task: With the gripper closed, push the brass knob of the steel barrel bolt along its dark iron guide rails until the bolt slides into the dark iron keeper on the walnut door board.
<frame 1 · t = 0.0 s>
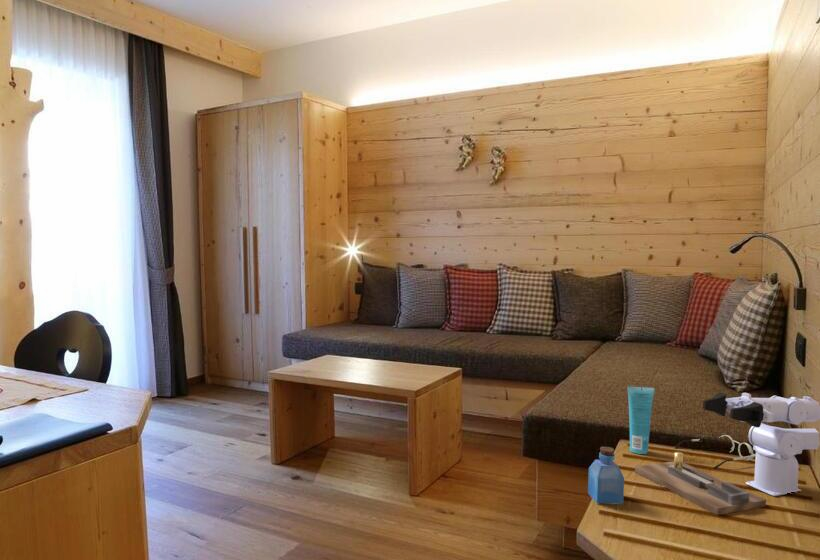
hand: (717, 409, 137), 22 cm above the table, tool horizontal, fingers open, 7 cm apart
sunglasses: (714, 458, 168), on the table
tube: (638, 452, 170), on the table
perfume bottle: (605, 499, 138), on the table
door board: (696, 487, 145), on the table
bolt: (690, 468, 146), point 4 cm above the table, slide at 0.0 cm
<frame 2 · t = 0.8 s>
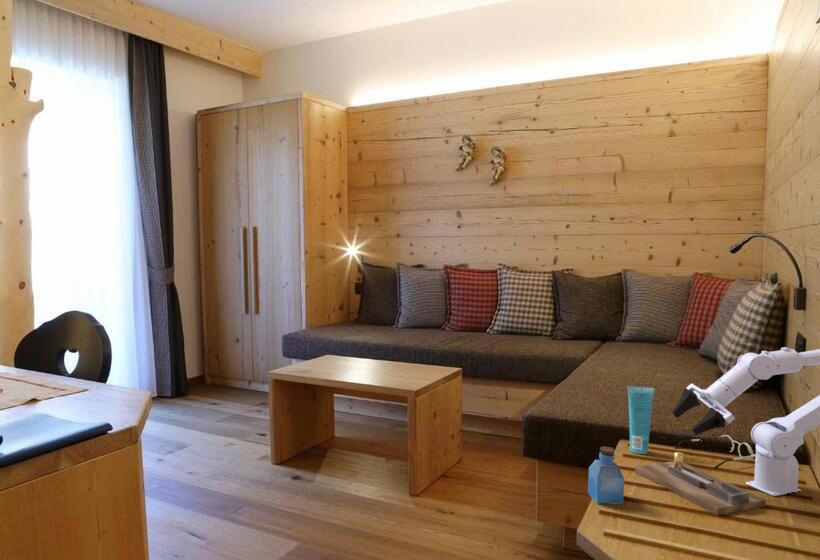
hand: (683, 423, 145), 16 cm above the table, tool tilted 50°, fingers open, 7 cm apart
nothing on the table moved.
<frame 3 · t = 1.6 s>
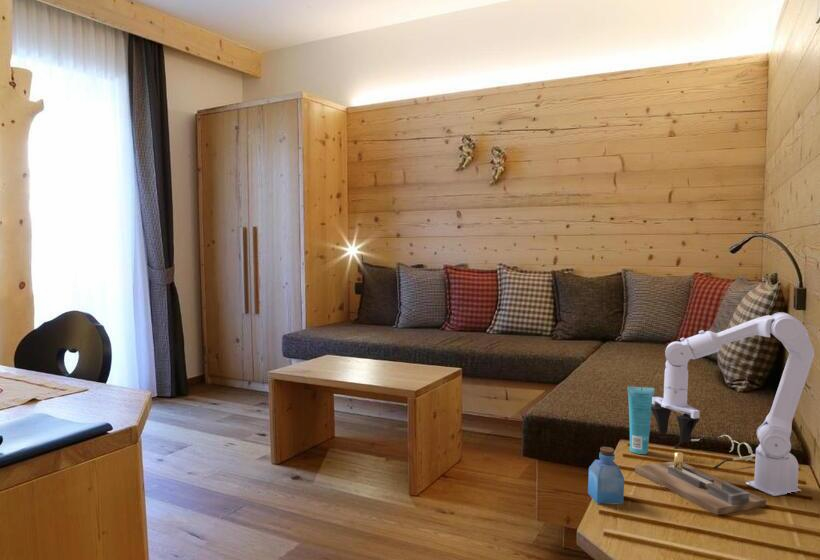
hand: (673, 437, 154), 9 cm above the table, tool pointing down, fingers open, 7 cm apart
nothing on the table moved.
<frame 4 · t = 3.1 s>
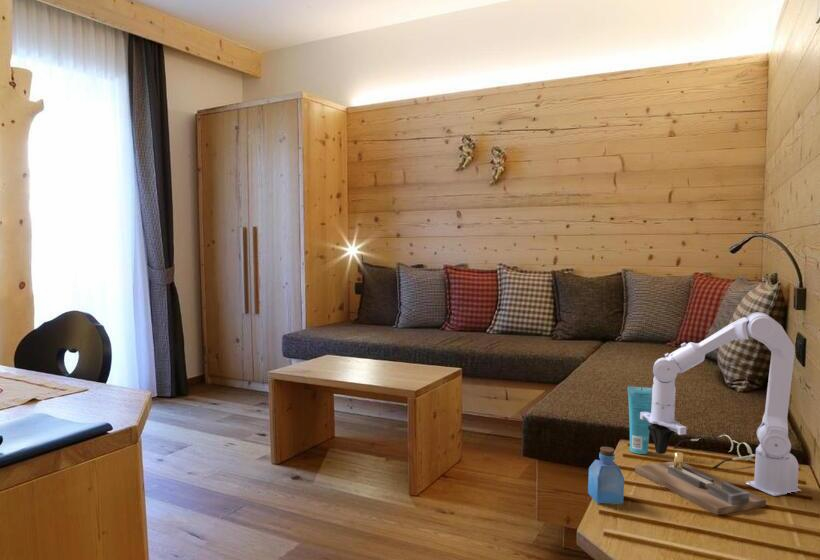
hand: (660, 452, 156), 5 cm above the table, tool pointing down, fingers closed
nothing on the table moved.
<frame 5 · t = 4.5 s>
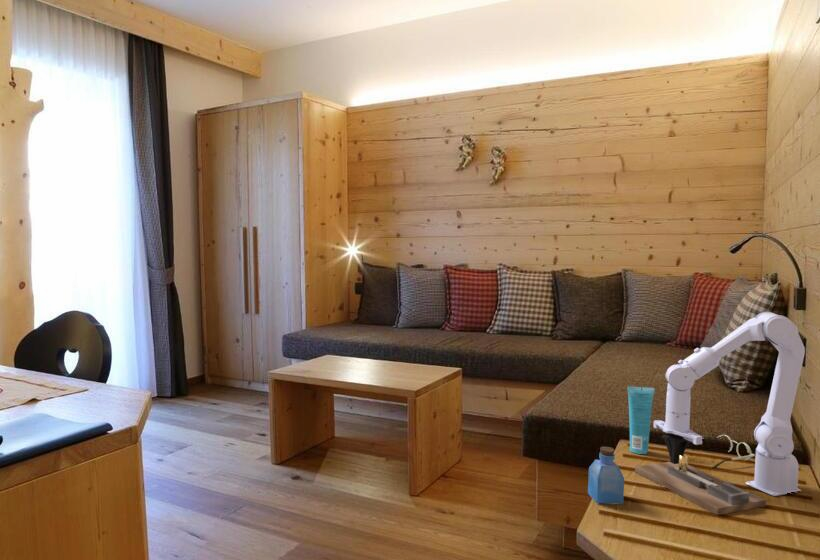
hand: (675, 462, 151), 4 cm above the table, tool pointing down, fingers closed
bolt: (695, 470, 145), point 4 cm above the table, slide at 1.6 cm, touching gripper
everything else where it was.
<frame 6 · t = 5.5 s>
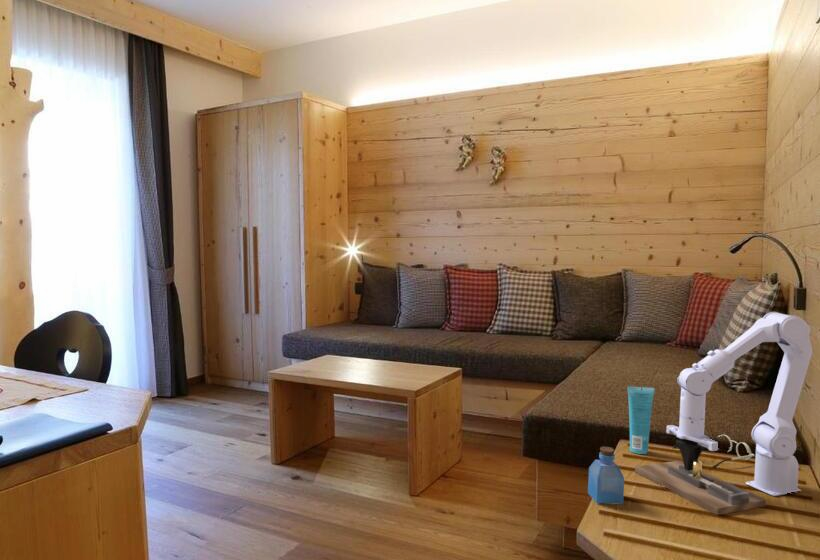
hand: (689, 469, 147), 4 cm above the table, tool pointing down, fingers closed
bolt: (710, 477, 141), point 4 cm above the table, slide at 6.1 cm, touching gripper
everything else where it was.
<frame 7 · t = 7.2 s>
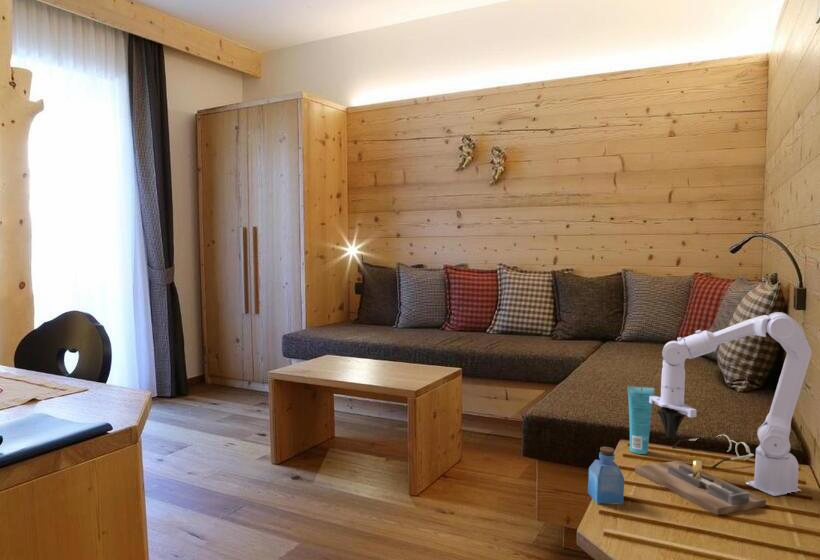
hand: (670, 436, 155), 9 cm above the table, tool pointing down, fingers closed
bolt: (710, 477, 141), point 4 cm above the table, slide at 6.0 cm
everything else where it was.
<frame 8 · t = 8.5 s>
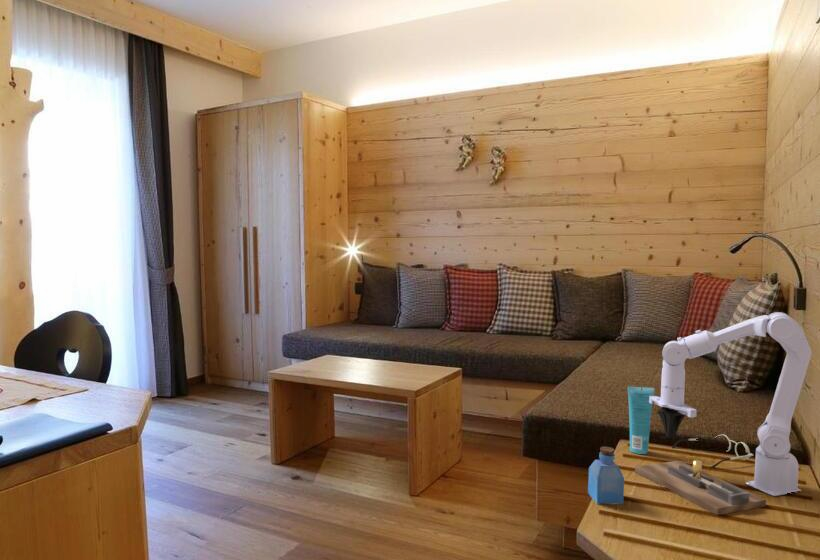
hand: (670, 436, 155), 9 cm above the table, tool pointing down, fingers closed
nothing on the table moved.
at the end: bolt slide at 6.0 cm; perfume bottle moved 0.3 cm from its start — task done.
